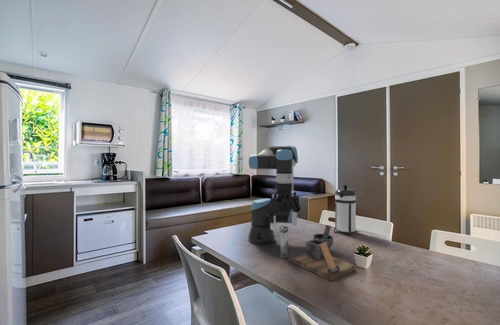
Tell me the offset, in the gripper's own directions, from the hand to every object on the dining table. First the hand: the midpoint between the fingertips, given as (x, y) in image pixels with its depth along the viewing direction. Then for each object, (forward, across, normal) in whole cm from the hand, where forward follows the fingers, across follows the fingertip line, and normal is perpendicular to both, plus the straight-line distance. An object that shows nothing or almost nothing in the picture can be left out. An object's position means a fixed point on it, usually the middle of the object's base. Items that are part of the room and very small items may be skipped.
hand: (284, 227), depth 113 cm
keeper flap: (+7, +3, -22) cm, 24 cm away
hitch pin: (+14, 0, 0) cm, 14 cm away
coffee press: (+14, +60, +7) cm, 62 cm away
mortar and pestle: (+14, +23, -5) cm, 28 cm away
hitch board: (+14, +7, -17) cm, 23 cm away
